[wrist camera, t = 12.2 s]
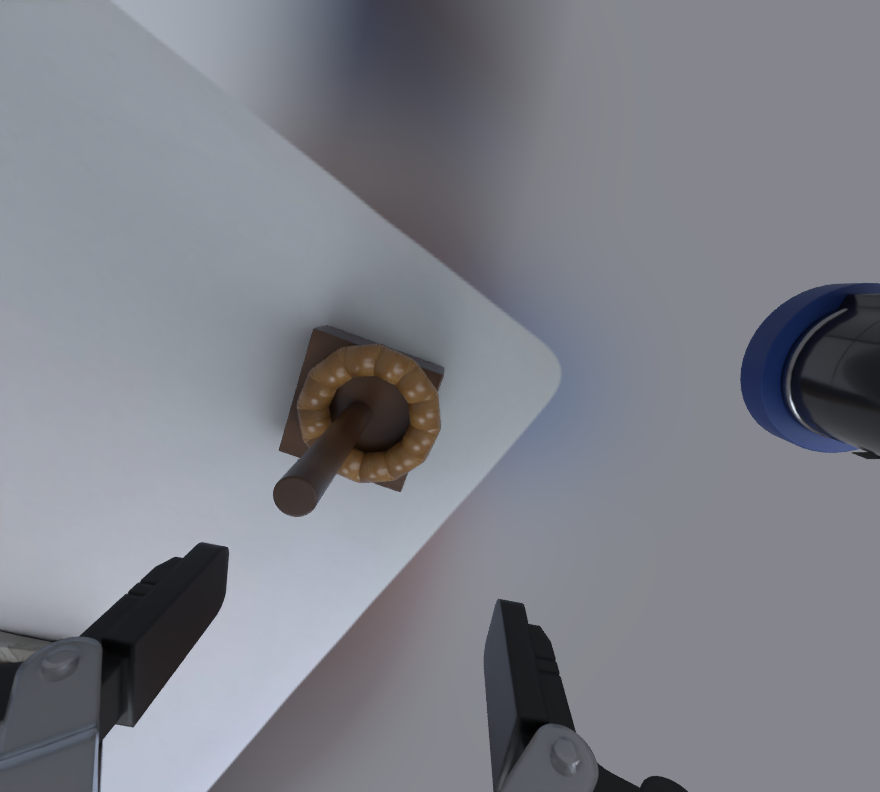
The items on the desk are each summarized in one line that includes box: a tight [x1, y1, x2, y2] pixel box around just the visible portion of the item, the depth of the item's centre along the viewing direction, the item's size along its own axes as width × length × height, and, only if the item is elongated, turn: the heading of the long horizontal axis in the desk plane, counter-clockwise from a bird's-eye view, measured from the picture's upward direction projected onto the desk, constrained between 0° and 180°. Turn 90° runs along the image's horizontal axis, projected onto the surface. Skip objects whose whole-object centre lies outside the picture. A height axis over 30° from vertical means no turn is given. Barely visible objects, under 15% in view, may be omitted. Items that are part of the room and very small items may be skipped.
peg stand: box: [273, 325, 444, 517], centre depth 24 cm, size 9×9×15 cm
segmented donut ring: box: [297, 344, 441, 483], centre depth 28 cm, size 9×9×2 cm
